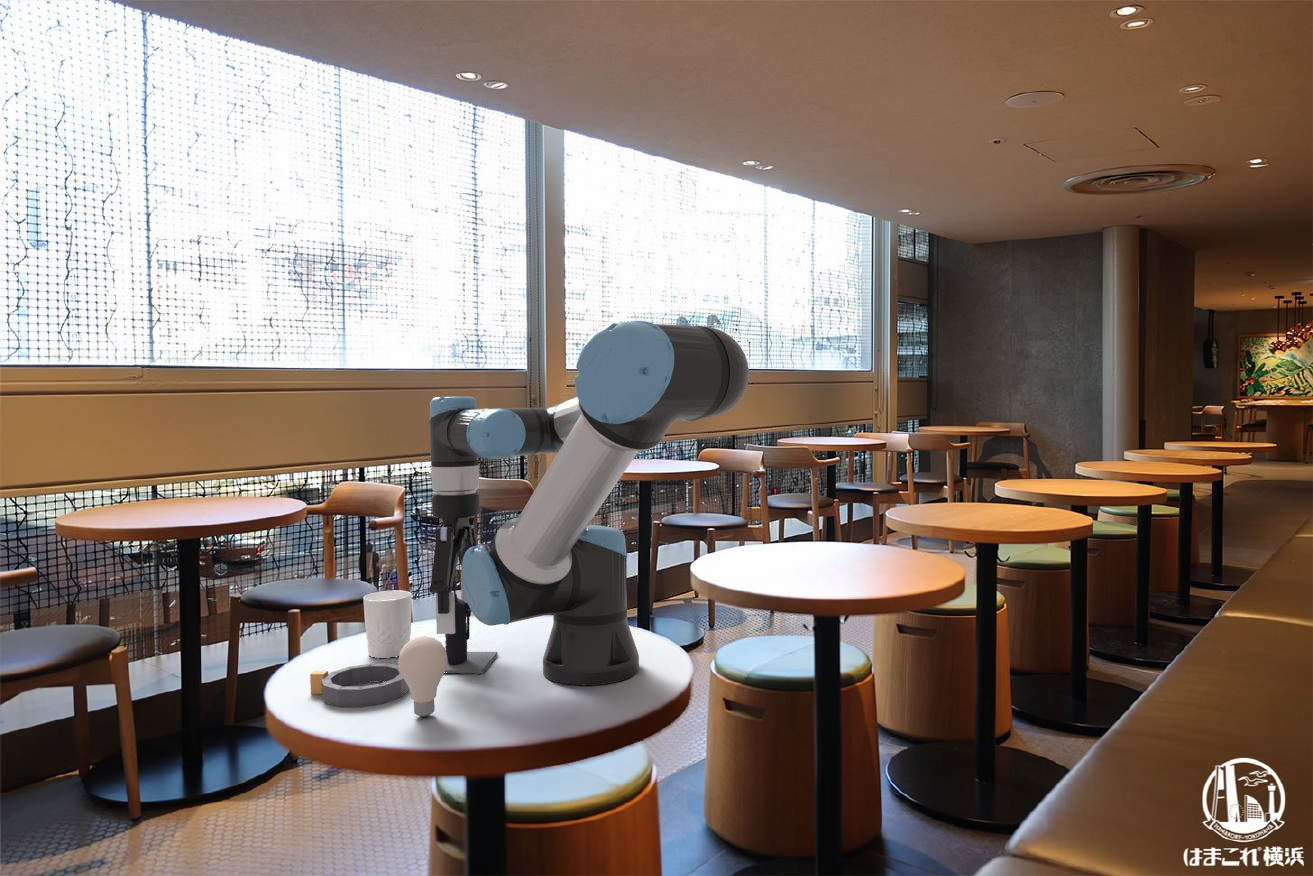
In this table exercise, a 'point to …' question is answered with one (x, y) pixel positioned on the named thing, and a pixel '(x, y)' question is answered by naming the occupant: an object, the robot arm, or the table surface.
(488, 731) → the table surface
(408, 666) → the light bulb
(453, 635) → the two-way radio
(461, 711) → the table surface
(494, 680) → the table surface
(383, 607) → the white cup
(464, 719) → the table surface
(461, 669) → the mat
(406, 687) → the dock collar
